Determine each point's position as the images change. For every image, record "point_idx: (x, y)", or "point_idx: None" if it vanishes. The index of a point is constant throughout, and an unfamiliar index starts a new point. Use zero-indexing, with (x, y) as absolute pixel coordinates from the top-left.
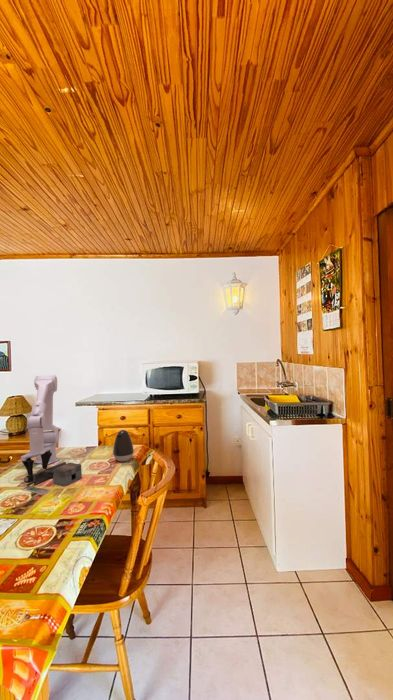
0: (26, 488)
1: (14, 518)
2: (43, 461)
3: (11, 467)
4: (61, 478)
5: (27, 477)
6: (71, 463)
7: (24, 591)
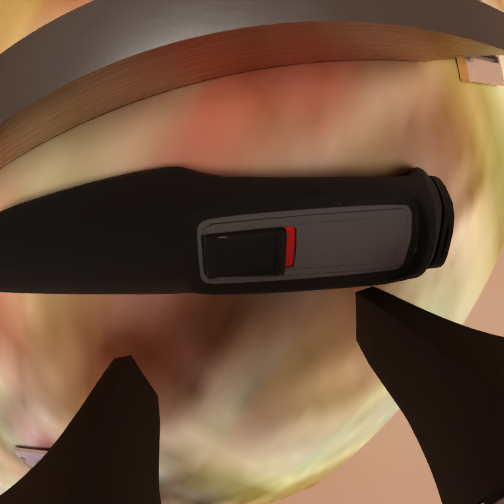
0: None
1: None
2: (141, 476)
3: (274, 501)
4: None
5: (444, 228)
6: None
7: None
